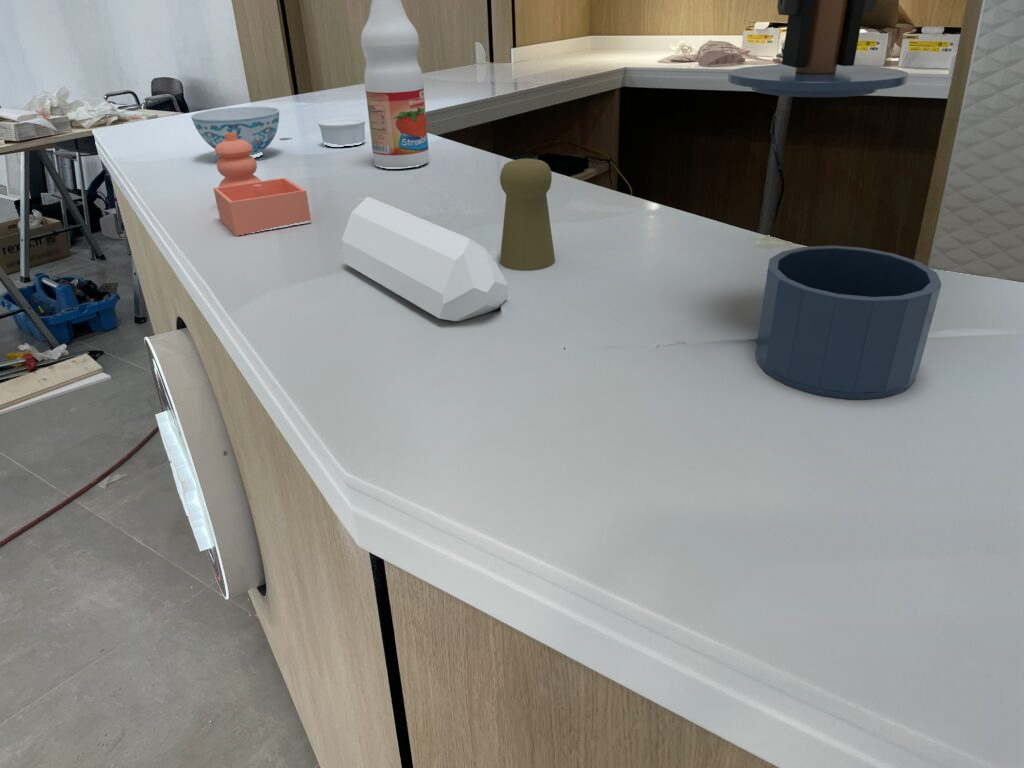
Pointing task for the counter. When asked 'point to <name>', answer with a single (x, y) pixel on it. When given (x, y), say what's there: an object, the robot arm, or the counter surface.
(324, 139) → the ramekin
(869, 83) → the cover
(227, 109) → the chinaware
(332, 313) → the counter surface
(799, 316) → the blue round pot
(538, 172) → the cork
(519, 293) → the counter surface
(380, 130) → the fruit juice
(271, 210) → the pottery
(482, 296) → the crystal
